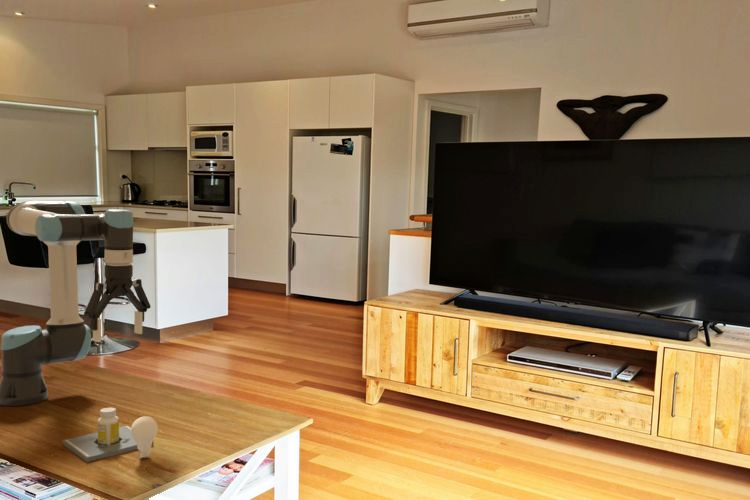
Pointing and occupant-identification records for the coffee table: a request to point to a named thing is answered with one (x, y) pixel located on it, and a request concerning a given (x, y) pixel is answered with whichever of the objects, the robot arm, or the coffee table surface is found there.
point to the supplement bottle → (108, 427)
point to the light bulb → (144, 434)
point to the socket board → (92, 451)
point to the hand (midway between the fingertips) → (118, 337)
